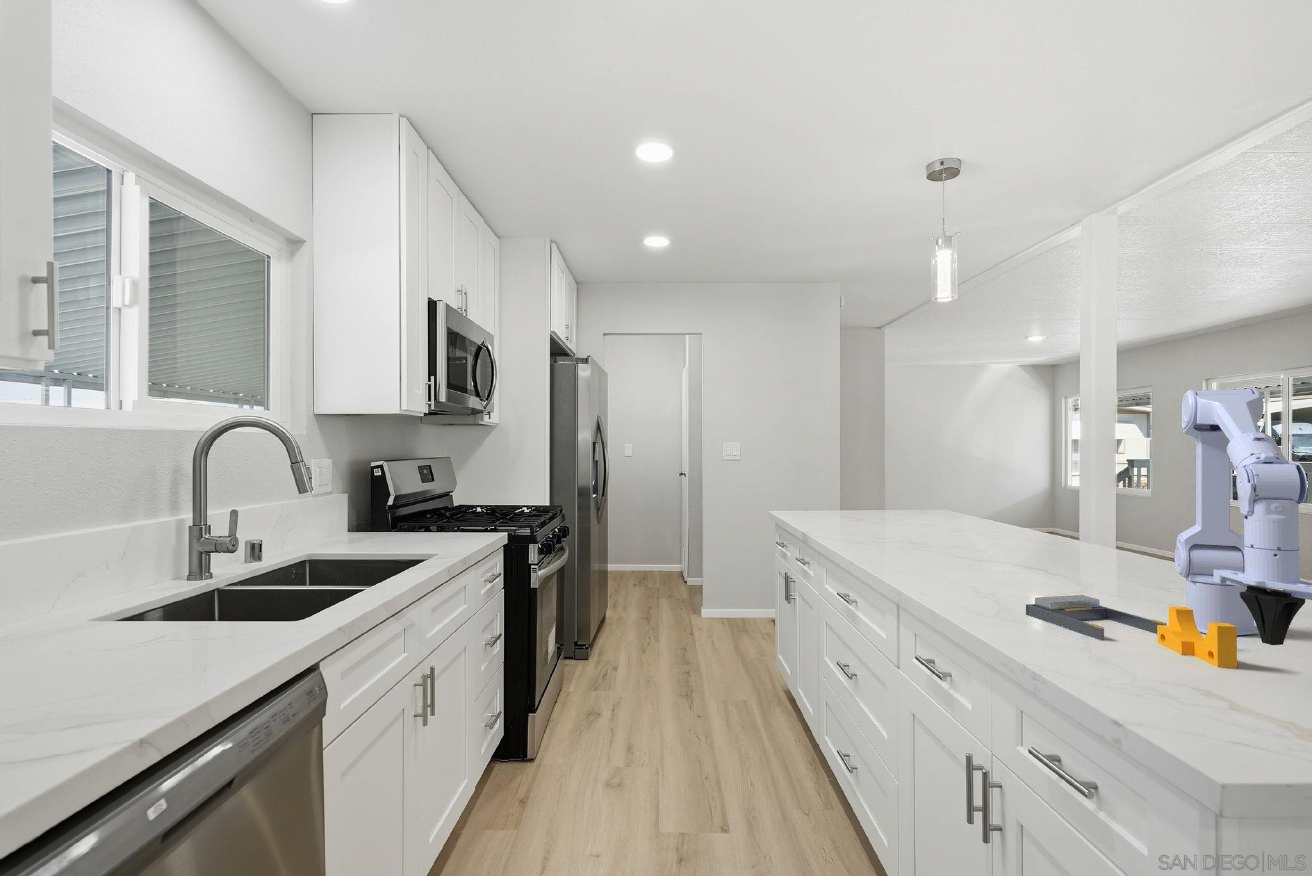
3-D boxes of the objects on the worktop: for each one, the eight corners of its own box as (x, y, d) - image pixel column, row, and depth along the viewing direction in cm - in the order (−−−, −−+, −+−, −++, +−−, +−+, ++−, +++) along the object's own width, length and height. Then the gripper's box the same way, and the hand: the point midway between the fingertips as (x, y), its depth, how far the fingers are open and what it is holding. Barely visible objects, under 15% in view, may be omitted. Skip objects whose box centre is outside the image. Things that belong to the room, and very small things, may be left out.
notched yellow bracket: (1157, 644, 110) (1157, 606, 110) (1186, 645, 110) (1185, 606, 110) (1204, 667, 99) (1204, 625, 99) (1237, 669, 98) (1236, 626, 98)
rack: (1084, 610, 132) (1084, 593, 132) (1166, 635, 115) (1166, 615, 115) (1025, 614, 129) (1025, 596, 129) (1101, 640, 112) (1101, 619, 112)
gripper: (1196, 541, 99) (1197, 630, 99) (1309, 557, 84) (1310, 661, 84) (1234, 539, 100) (1235, 628, 100) (1351, 555, 86) (1352, 658, 86)
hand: (1272, 643), depth 92 cm, fingers closed
